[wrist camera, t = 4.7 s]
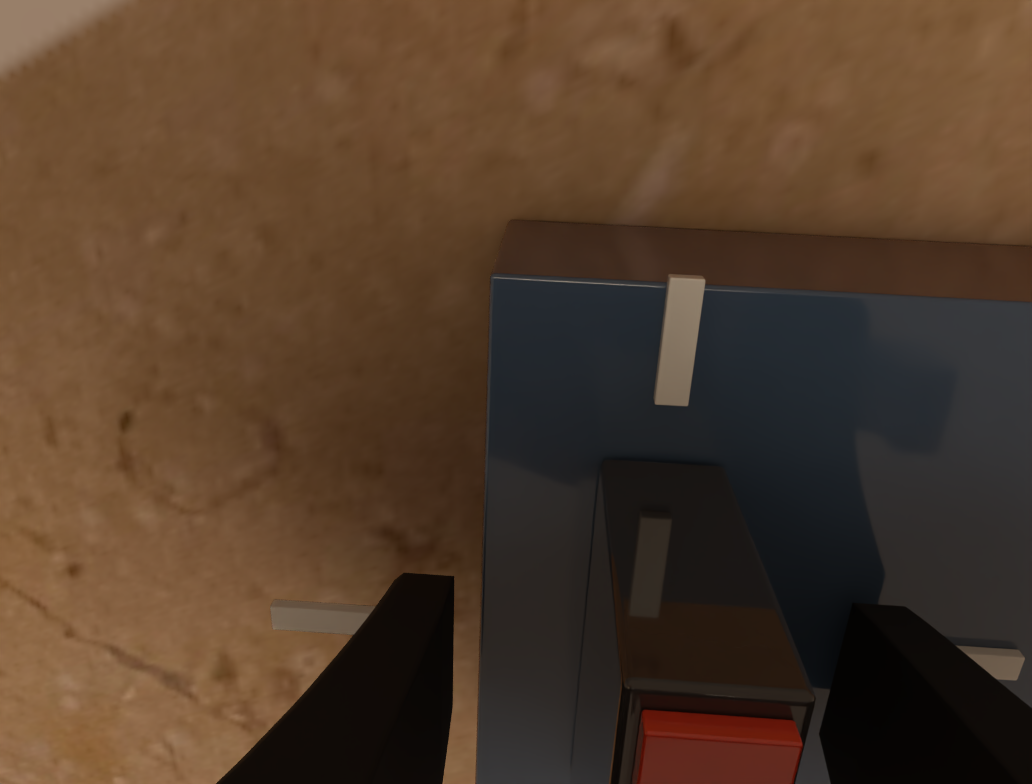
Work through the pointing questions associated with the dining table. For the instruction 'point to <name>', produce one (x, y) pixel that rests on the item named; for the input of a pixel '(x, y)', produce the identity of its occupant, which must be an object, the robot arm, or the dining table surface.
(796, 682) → the tap handle
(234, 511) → the dining table surface
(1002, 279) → the panel
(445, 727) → the robot arm
